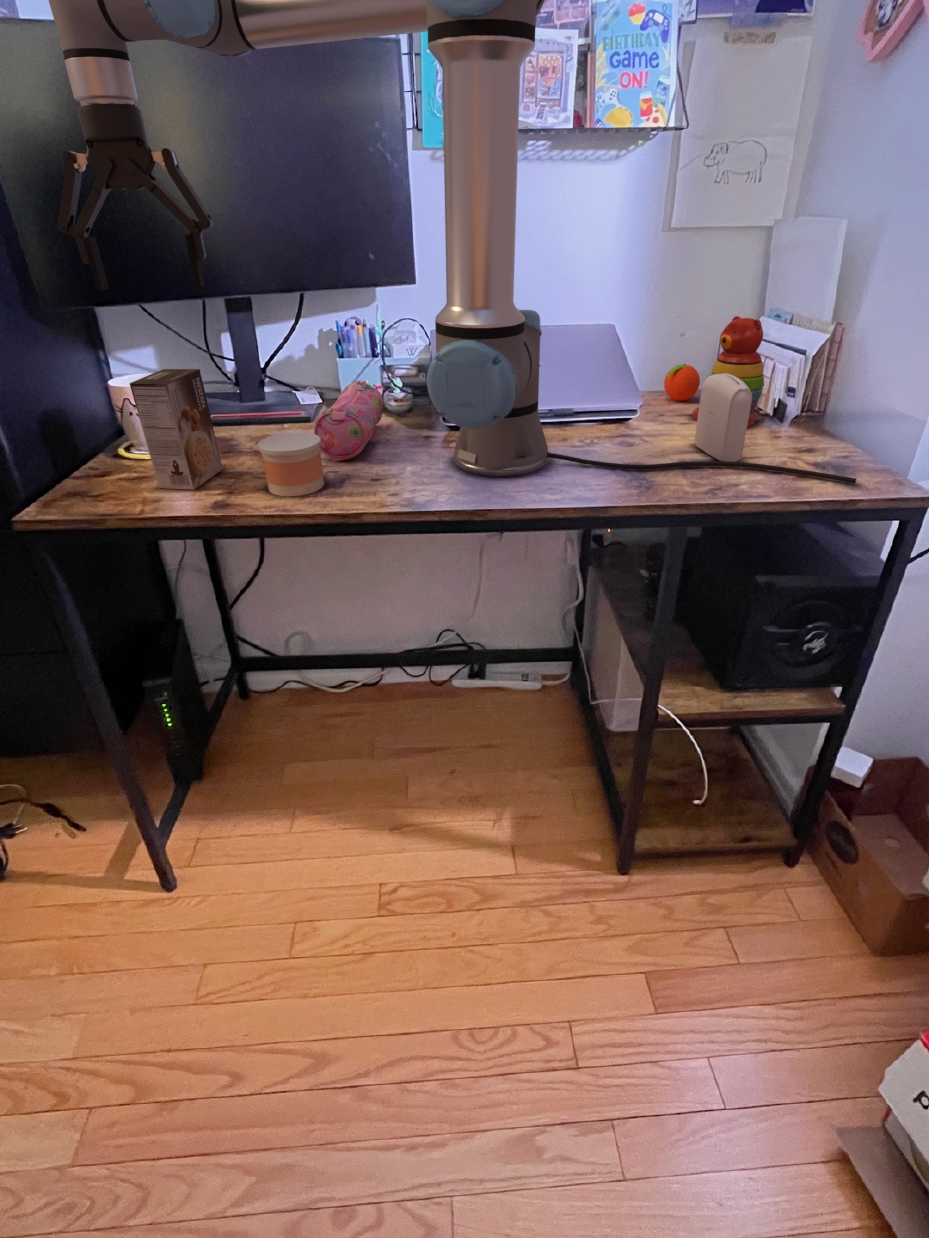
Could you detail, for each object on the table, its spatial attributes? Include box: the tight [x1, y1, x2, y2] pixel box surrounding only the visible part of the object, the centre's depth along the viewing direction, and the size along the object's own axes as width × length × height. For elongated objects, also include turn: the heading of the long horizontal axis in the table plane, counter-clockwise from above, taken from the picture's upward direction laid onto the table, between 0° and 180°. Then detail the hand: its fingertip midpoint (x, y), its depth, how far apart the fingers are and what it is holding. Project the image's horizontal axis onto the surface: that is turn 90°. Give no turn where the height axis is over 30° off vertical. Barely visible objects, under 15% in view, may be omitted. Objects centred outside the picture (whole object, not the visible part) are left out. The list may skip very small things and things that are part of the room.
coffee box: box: [128, 368, 224, 491], centre depth 107 cm, size 9×6×16 cm
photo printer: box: [694, 374, 752, 462], centre depth 112 cm, size 10×4×12 cm, turn 11°
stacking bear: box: [691, 315, 765, 428], centre depth 125 cm, size 11×10×18 cm
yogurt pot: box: [257, 431, 325, 497], centre depth 106 cm, size 9×9×7 cm
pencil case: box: [313, 380, 384, 461], centre depth 122 cm, size 21×9×9 cm, turn 176°
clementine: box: [663, 363, 701, 402], centre depth 141 cm, size 8×7×7 cm
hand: (152, 288), depth 100 cm, fingers open, 13 cm apart
